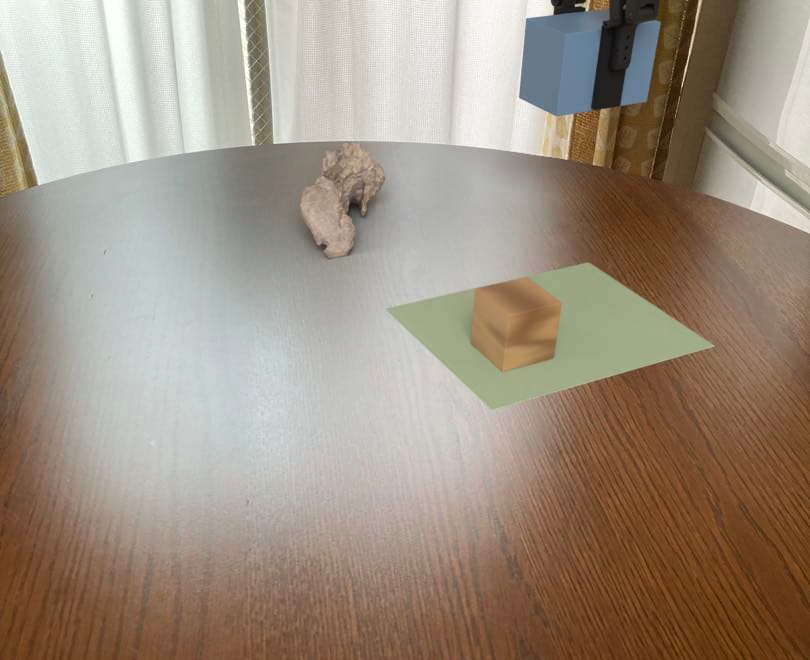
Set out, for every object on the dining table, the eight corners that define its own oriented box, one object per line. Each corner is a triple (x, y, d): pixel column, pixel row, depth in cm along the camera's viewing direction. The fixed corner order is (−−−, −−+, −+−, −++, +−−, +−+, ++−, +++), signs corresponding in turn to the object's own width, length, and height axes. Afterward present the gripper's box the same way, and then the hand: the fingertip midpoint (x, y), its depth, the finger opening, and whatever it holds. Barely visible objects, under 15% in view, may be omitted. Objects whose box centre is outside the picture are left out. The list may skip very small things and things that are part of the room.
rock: (285, 253, 82) (280, 173, 78) (335, 195, 93) (334, 121, 88) (347, 262, 81) (346, 181, 77) (391, 203, 92) (393, 128, 87)
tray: (586, 274, 81) (588, 261, 80) (711, 359, 71) (715, 345, 70) (384, 322, 74) (384, 308, 73) (490, 424, 63) (492, 409, 62)
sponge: (606, 84, 88) (617, 7, 83) (646, 102, 84) (661, 21, 79) (518, 98, 84) (525, 18, 80) (556, 116, 80) (566, 33, 76)
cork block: (520, 331, 71) (527, 276, 68) (554, 358, 68) (562, 302, 65) (470, 344, 69) (474, 288, 66) (502, 372, 66) (508, 315, 63)
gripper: (514, -240, 73) (492, 75, 89) (671, -232, 61) (614, 133, 76) (590, -240, 76) (556, 66, 91) (756, -232, 64) (684, 121, 79)
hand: (583, 96), depth 84 cm, fingers closed on sponge, 6 cm apart
